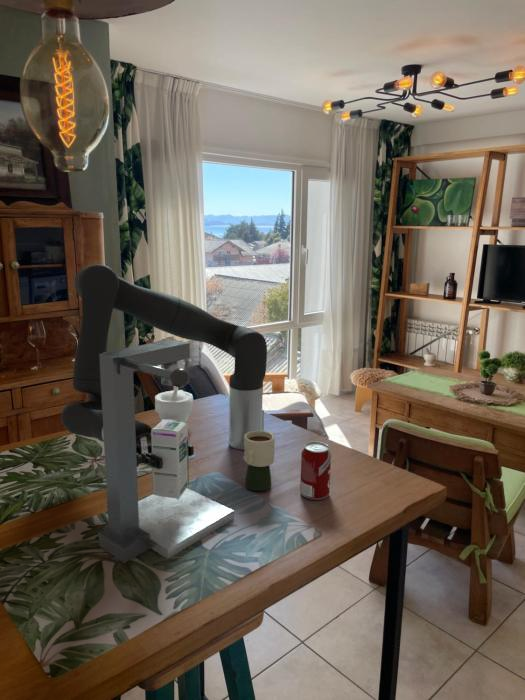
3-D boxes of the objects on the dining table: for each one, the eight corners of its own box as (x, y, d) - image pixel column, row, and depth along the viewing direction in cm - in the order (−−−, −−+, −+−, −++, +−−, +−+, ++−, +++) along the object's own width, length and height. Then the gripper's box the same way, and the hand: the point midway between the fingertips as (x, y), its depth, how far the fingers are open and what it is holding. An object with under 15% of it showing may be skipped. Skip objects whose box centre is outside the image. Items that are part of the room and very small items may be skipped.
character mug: (254, 474, 129) (254, 425, 126) (280, 480, 127) (282, 430, 124) (234, 494, 120) (235, 441, 117) (262, 501, 117) (264, 447, 114)
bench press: (176, 490, 120) (173, 328, 112) (267, 535, 104) (271, 348, 95) (84, 535, 102) (71, 345, 94) (175, 598, 86) (171, 374, 77)
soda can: (310, 504, 116) (312, 454, 113) (294, 491, 122) (296, 443, 119) (334, 498, 119) (337, 449, 116) (318, 485, 125) (320, 438, 122)
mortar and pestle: (201, 425, 161) (200, 346, 155) (176, 437, 151) (174, 353, 145) (170, 416, 167) (169, 341, 162) (144, 427, 158) (141, 347, 152)
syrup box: (179, 499, 103) (179, 431, 100) (151, 495, 104) (150, 428, 101) (189, 486, 109) (189, 421, 105) (162, 482, 110) (161, 417, 106)
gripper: (98, 428, 107) (148, 451, 97) (153, 410, 118) (203, 430, 108) (99, 461, 109) (149, 487, 99) (153, 441, 120) (203, 463, 110)
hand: (177, 457), depth 103 cm, fingers closed on syrup box, 7 cm apart
